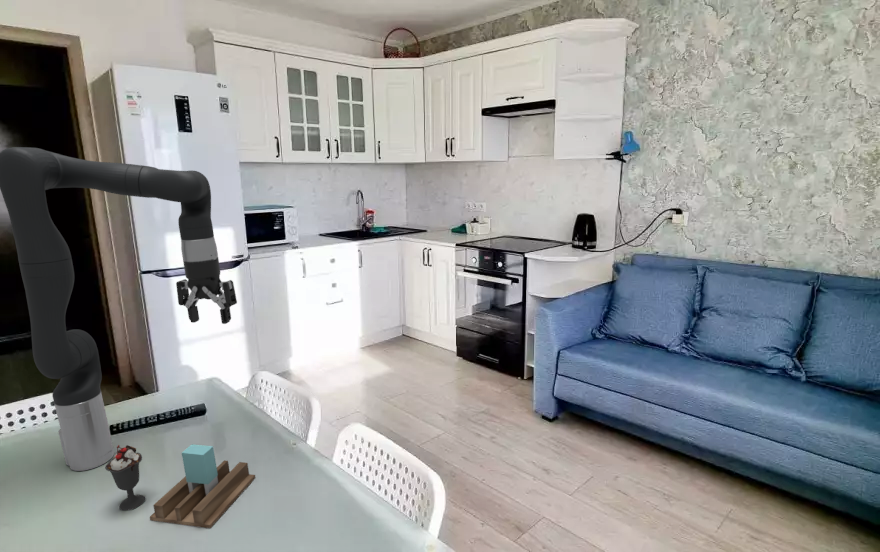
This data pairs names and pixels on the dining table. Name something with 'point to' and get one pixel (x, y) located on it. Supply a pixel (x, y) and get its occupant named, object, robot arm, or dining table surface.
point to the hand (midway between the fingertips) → (210, 322)
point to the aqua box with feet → (200, 467)
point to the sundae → (126, 475)
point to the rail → (203, 498)
